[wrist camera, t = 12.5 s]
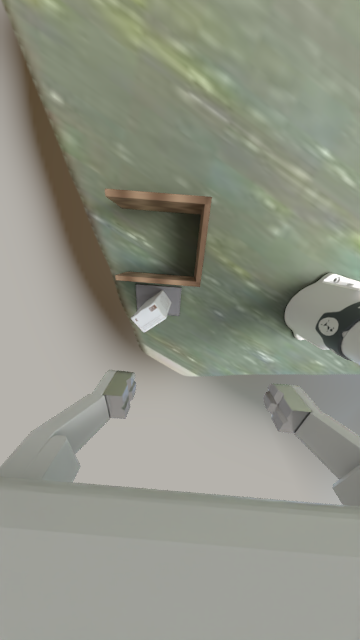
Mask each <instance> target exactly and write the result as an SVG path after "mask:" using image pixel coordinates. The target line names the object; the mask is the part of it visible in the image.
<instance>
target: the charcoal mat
mask: <svg viewBox="0 0 360 640" xmlns="http://www.w3.org/2000/svg"><path fill="white" fill-rule="evenodd" d="M162 290H163V291H164V292H165V294H166V295H167V297H168V298H169V299H170V301H171V305H170V308H169V311H168V314H167V315H173V316H179V313H180V300H181V288H180V287H167V286H155V285H142V284H136V298H137V311H138V309H139V308H140V307H141V306H142V305H143V304H144V303H145V302H146V301H147V300H149V299H150V298H151V297H153V296H154V295H156V294H157V293H159V292H160V291H162Z"/></svg>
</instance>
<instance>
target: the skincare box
mask: <svg viewBox="0 0 360 640" xmlns="http://www.w3.org/2000/svg"><path fill="white" fill-rule="evenodd" d="M170 305H171V301H170V299H169V298H168V297H167V295H166V294H165V292H164V291H163V290H162V291H160V292H159V293H157V294H156V295H154V296H153V297H151V298H150V299H149V300H147V301H146V302H145V303H144V304H143V305H142V306H141V307H140V308H139V309H138V311H137V312H136V313H135V314H134V315H133V316H132V317H131V319H132V320H133V321H134V323H135V324H136V325H137V326H138V327H139V328H140V329H141V330H142V331H143V332H144V333H145V332H146V331H148V330H149V329H151V328H152V327H154V326H155V325H157V324H158V323H160V322H162V321H163V320H165V319H166V317H167V314H168V311H169V308H170Z"/></svg>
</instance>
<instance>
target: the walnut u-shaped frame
mask: <svg viewBox="0 0 360 640" xmlns="http://www.w3.org/2000/svg"><path fill="white" fill-rule="evenodd" d="M105 195H106V197H107V198H109V199H110V200H111V201H113V202H114V203H116V204H117V205H118V206H120V207H121V208H124V209H136V210H149V211H162V212H175V213H187V214H200V215H201V218H200V227H199V236H198V245H197V254H196V263H195V272H194V277H190V276H178V275H165V274H152V273H140V272H125V273H121V274H118V275H115V277H116V280H120V281H133V282H145V283H158V284H171V285H183V286H196V287H200V282H201V275H202V267H203V260H204V252H205V245H206V237H207V229H208V222H209V214H210V207H211V199H212V197H205V196H192V195H179V194H166V193H154V192H141V191H128V190H115V189H105Z"/></svg>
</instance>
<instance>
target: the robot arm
mask: <svg viewBox="0 0 360 640" xmlns="http://www.w3.org/2000/svg"><path fill="white" fill-rule="evenodd" d="M285 322H286V324H287V326H288V327H289V328H290V329H291V330H292V331H293V333H294V337H295V338H296V339H298V340H307V341H308V342H310V343H312V344H314V345H315V346H317V347H319V348H320V349H323V350H325V349H330V350H332V351H333V352H334V353H336V354H337V355H339V356H341V357H343V358H345V359H347V360H350V361H353V362H355V363H357V364H358V365H360V282H359V281H356V280H353V279H350V278H346V277H343V276H340V275H337V274H333V273H328V274H326V275H325V276H323V277H322V278H321V279H320V280H318V281H317V282H316V283H314V284H312V285H310V286H307V287H306V288H304V289H302V290H301V291H299V292H298V293H297V294H296V295H295V296H294V297H293V298H292V299H291V300H290V302H289V304H288V305H287V307H286V310H285ZM134 379H135V373H133V372H125V371H115V370H108V371H107V372H106V374H105V375H104V376H103V378H102V380H101V381H100V383H99V384H98V385H97V387H96V388H95V390H94V391H93V393H92V394H88V395H87V396H85V397H84V398H82V399H81V400H79V401H77V402H76V403H74V404H73V405H71V406H70V407H68V408H67V409H65V410H64V411H62V412H61V413H59V414H58V415H56V416H54V417H53V418H51V419H50V420H48V421H47V422H45V423H44V424H42V425H41V426H39V427H38V428H36V429H35V430H33V431H31V433H30V434H29V435H28V436H27V437H26V438H25V439H24V440H23V442H22V443H21V444H20V445H19V446H18V447H17V449H16V450H15V451H14V452H13V453H12V454H11V455H10V456H9V458H8V459H7V460H6V461H5V462H4V463H3V465H2V466H1V467H0V640H360V436H359V435H357V434H356V433H354V432H353V431H351V430H350V429H348V428H347V427H345V426H344V425H342V424H341V423H339V422H338V421H336V420H335V419H333V418H332V417H330V416H329V415H327V414H324V413H323V412H322V411H321V410H320V409H319V408H318V407H317V405H316V404H315V403H314V402H313V401H312V400H311V399H310V397H309V396H308V395H307V394H306V393H305V392H304V391H303V389H302V388H301V387H299V386H297V385H285V384H270V385H269V386H268V389H269V391H268V392H266V393H265V395H264V404H265V407H266V409H267V410H268V411H269V412H270V413H271V414H272V420H273V422H274V424H275V426H276V428H277V430H278V431H279V432H288V433H295V435H296V436H297V437H298V438H299V439H300V440H301V441H302V442H303V443H304V444H305V446H306V447H308V449H310V450H311V452H312V453H313V454H314V455H315V456H317V457H318V459H319V460H320V461H321V462H322V463H323V464H324V465H325V466H326V467H327V468H328V469H330V471H331V472H332V473H333V474H334V475H335V476H336V477H337V478H338V479H339V480H338V481H337V482H336V483H334V484H333V490H334V491H335V493H336V495H337V496H338V498H339V499H340V501H341V503H342V504H343V505H334V504H321V503H310V502H298V501H286V500H274V499H263V498H251V497H239V496H227V495H215V494H204V493H191V492H179V491H168V490H156V489H144V488H133V487H120V486H109V485H96V484H85V483H73V481H74V479H75V477H76V474H77V473H78V470H79V468H80V463H79V461H78V460H77V457H76V455H75V454H76V453H77V452H78V451H79V449H81V448H82V447H83V446H84V445H85V444H86V443H87V442H88V441H89V440H90V438H91V437H93V436H94V435H95V434H96V433H97V431H99V430H100V428H102V426H104V424H105V423H106V422H107V421H108V420H109V419H110V418H121V419H122V418H123V419H125V418H126V417H127V414H128V411H129V408H130V401H131V400H132V399H133V397H134V395H135V390H136V382H135V381H134Z"/></svg>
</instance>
